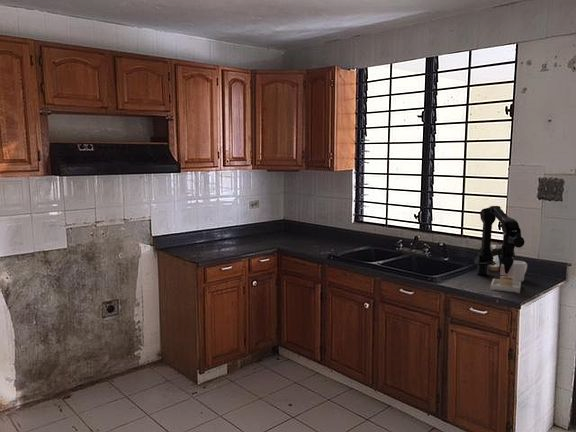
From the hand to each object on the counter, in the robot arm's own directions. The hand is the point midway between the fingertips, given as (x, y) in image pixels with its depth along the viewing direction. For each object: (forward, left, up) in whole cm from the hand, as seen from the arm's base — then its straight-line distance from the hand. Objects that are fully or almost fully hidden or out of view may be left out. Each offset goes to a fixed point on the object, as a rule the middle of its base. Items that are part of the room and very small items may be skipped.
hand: (506, 272), depth 256 cm
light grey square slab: (0, 0, -9) cm, 9 cm away
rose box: (0, 0, -1) cm, 1 cm away
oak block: (0, 0, -8) cm, 8 cm away
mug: (-21, +5, -9) cm, 23 cm away
